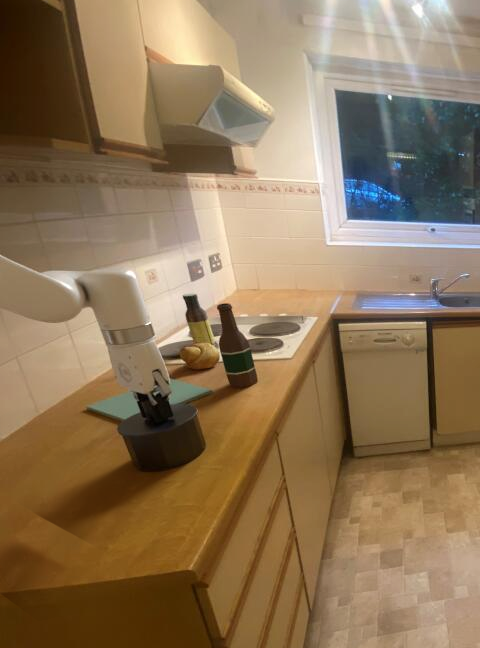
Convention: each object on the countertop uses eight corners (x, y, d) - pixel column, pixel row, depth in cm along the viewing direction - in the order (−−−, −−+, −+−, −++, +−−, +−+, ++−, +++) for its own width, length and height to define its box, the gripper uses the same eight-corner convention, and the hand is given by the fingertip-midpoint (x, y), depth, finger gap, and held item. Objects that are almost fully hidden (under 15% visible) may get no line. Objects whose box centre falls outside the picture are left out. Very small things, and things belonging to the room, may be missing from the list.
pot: (157, 478, 87) (144, 441, 83) (120, 463, 91) (106, 428, 88) (218, 446, 97) (208, 413, 94) (183, 434, 102) (172, 402, 99)
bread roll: (192, 359, 146) (186, 337, 143) (226, 356, 149) (220, 333, 146) (182, 373, 135) (175, 349, 132) (218, 369, 138) (212, 345, 135)
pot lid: (143, 446, 83) (134, 420, 81) (104, 431, 88) (94, 406, 86) (212, 415, 94) (205, 391, 92) (174, 403, 99) (166, 381, 97)
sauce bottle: (208, 344, 160) (193, 291, 152) (220, 346, 158) (206, 292, 150) (191, 350, 154) (174, 295, 147) (203, 352, 152) (187, 296, 145)
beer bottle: (238, 391, 124) (217, 309, 115) (223, 385, 127) (201, 305, 118) (264, 381, 130) (246, 303, 121) (248, 376, 134) (230, 299, 124)
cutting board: (132, 425, 106) (131, 421, 105) (87, 409, 113) (85, 406, 113) (213, 392, 123) (212, 389, 122) (168, 380, 130) (167, 377, 130)
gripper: (81, 333, 84) (114, 417, 91) (132, 345, 77) (163, 434, 84) (126, 323, 90) (153, 402, 97) (176, 334, 84) (202, 417, 91)
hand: (158, 416), depth 91 cm, fingers closed on pot lid, 3 cm apart
